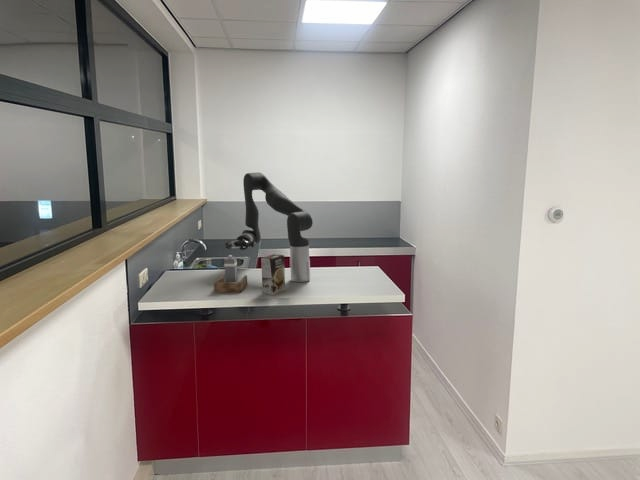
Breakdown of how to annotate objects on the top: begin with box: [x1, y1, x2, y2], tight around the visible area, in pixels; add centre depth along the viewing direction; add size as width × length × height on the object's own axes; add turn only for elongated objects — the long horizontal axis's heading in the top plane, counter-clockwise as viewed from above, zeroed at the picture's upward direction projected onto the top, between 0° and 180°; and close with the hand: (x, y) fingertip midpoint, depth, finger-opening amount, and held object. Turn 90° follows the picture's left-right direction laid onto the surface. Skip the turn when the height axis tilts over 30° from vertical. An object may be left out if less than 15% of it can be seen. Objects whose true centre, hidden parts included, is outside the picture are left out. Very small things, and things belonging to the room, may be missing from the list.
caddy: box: [213, 275, 248, 294], centre depth 205 cm, size 12×13×4 cm
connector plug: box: [223, 254, 239, 282], centre depth 205 cm, size 5×5×14 cm
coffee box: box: [260, 253, 286, 296], centre depth 198 cm, size 9×6×16 cm
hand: (237, 246), depth 216 cm, fingers open, 8 cm apart
